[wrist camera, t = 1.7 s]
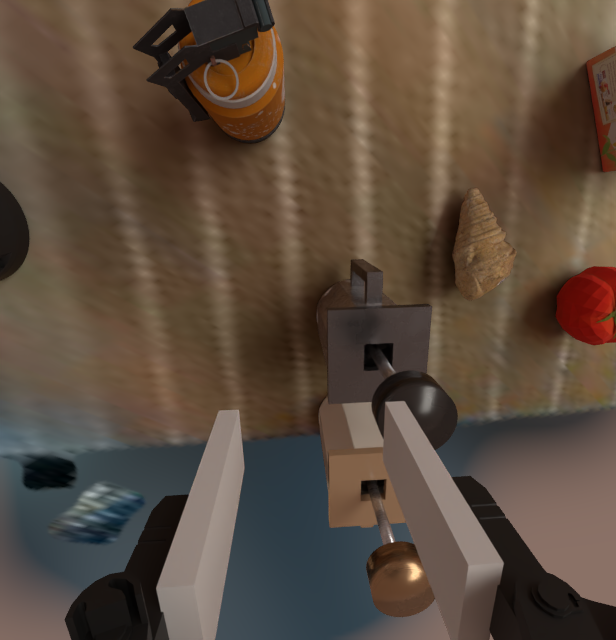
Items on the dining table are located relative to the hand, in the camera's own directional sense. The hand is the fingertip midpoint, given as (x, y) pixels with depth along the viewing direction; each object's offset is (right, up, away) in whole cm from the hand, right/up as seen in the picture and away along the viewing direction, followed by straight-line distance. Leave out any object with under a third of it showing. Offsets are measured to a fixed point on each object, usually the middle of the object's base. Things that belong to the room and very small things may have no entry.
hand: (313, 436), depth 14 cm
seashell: (+22, +16, +35) cm, 44 cm away
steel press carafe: (+6, +7, +37) cm, 38 cm away
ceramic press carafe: (+7, -12, +43) cm, 45 cm away
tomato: (+40, +8, +39) cm, 56 cm away
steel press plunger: (+7, +2, +26) cm, 27 cm away
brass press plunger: (+7, -14, +31) cm, 35 cm away
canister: (-9, +31, +29) cm, 43 cm away
